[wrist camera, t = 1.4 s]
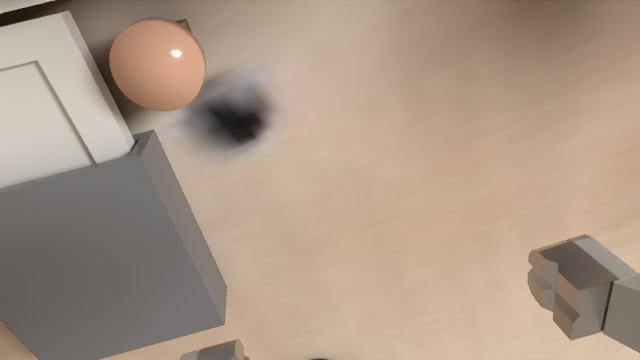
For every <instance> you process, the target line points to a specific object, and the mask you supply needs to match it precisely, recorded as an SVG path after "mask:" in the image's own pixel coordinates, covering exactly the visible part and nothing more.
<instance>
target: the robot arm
mask: <svg viewBox="0 0 640 360" xmlns="http://www.w3.org/2000/svg"><path fill="white" fill-rule="evenodd" d="M528 262H529V263H530V264H531V265H532V266H533V267H532V269H531V270H530V271H529V273H528V285H529V288H530V291H531V293H532V295H533V296H534V298H535V300H536V301H537V302H538V303H539V305H540V306H541V307H543V308H545V309H547V310H550V311H552V312H553V321H554V322H555V323H556V324H557V325H558V326H559V328H560V329H561V330H562V331H563V332H564V333H565V334H566V335H567V337H568V338H569V339H570V340H575V339H578V338H582V337H585V336H589V335H593V334H596V333H600V332H603V334H605V335H607V336H609V337H610V338H612V339H614V340H616V341H618V342H620V343H622V344H624V345H626V346H628V347H629V348H631V349H633V350H635V351H637V352H639V353H640V274H639V273H637V272H636V271H635V270H634V269H632V268H631V267H630V266H628V265H627V264H626V263H625V262H623V261H622V260H621V259H619V258H618V257H617V256H615V255H614V254H613V253H612V252H610V251H609V250H608V249H606V248H605V247H604V246H603V245H601V244H600V243H599V242H597V241H596V240H595V239H593V238H592V237H591V236H588V235H581V236H578V237H575V238H571V239H568V240H566V241H561V242H558V243H554V244H551V245H548V246H545V247H542V248H539V249H535V250H532V251H531V252H530V254H529V261H528ZM180 360H250V359H249V357H246V356H244V347H243V345H242V343H241V342H240V340H239V339H237V340H233V341H229V342H225V343H222V344H218V345H214V346H211V347H207V348H203V349H200V350H197V351H193V352H190V353H186V354H183V355H182V356H181V358H180Z"/></svg>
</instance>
